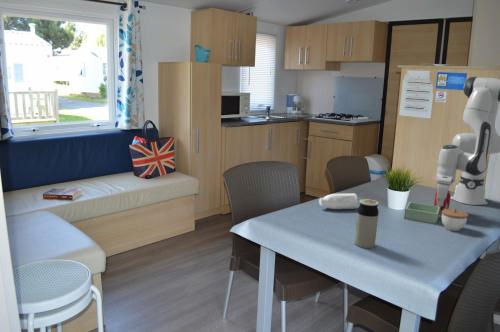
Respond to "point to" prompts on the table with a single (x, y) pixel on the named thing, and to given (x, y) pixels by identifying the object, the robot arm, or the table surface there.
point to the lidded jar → (454, 219)
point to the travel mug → (366, 223)
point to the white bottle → (339, 201)
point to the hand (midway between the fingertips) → (441, 203)
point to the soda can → (445, 204)
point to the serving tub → (422, 212)
